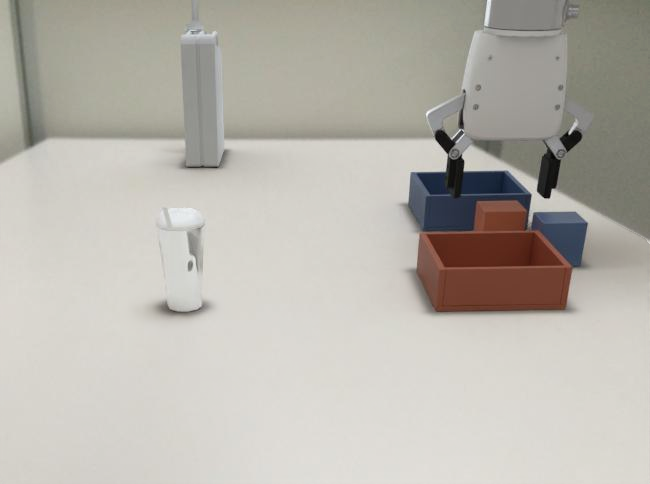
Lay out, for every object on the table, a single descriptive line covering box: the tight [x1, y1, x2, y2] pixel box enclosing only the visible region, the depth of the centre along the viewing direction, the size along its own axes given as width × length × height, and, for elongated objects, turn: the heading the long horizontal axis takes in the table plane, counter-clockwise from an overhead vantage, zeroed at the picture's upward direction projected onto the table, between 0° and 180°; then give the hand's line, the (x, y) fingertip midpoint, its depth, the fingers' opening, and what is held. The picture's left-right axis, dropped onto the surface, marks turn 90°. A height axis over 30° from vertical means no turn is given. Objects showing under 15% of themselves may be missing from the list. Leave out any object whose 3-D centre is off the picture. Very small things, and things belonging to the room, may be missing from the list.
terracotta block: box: [473, 201, 527, 232], centre depth 106 cm, size 4×4×4 cm
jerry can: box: [180, 0, 225, 168], centre depth 143 cm, size 15×5×25 cm, turn 177°
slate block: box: [530, 210, 589, 267], centre depth 102 cm, size 4×4×4 cm
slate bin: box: [407, 169, 533, 232], centre depth 117 cm, size 12×12×4 cm
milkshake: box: [155, 207, 206, 313], centre depth 90 cm, size 4×5×10 cm
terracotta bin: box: [415, 230, 574, 312], centre depth 95 cm, size 12×12×4 cm
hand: (498, 195), depth 105 cm, fingers open, 9 cm apart
